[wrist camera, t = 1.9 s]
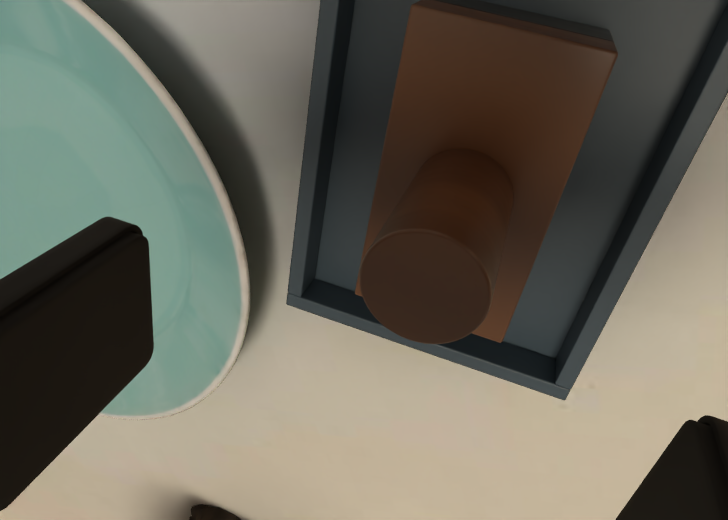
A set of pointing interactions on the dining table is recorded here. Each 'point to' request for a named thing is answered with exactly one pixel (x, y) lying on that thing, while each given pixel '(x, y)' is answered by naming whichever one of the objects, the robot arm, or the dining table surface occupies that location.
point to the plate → (119, 190)
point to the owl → (210, 513)
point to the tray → (579, 198)
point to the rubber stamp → (475, 163)
